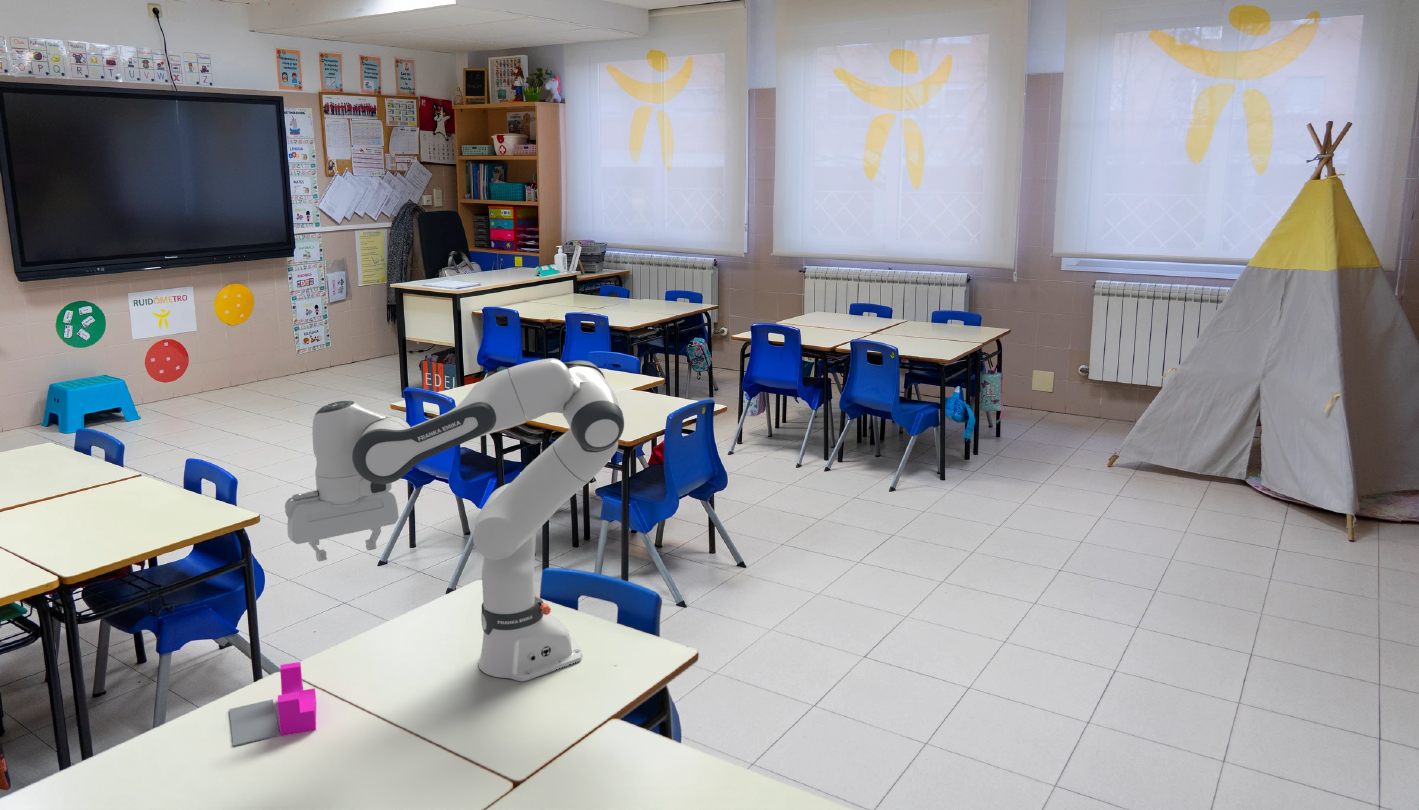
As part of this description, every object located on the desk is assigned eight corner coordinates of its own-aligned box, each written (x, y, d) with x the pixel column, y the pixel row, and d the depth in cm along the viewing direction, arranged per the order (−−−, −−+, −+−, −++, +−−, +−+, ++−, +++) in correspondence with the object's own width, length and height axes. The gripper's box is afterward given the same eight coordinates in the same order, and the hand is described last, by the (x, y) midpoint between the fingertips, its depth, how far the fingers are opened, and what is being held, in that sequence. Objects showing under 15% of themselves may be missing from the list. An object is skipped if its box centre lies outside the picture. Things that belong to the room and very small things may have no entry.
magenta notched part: (316, 730, 189) (312, 696, 187) (281, 737, 187) (277, 702, 185) (316, 692, 203) (313, 659, 201) (284, 697, 200) (280, 664, 199)
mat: (272, 700, 199) (272, 699, 199) (279, 735, 187) (279, 734, 187) (229, 710, 195) (229, 709, 195) (233, 746, 183) (233, 745, 183)
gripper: (289, 500, 176) (295, 572, 179) (399, 480, 189) (403, 547, 192) (279, 492, 181) (285, 561, 184) (387, 473, 193) (391, 538, 197)
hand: (346, 554), depth 188 cm, fingers open, 8 cm apart
